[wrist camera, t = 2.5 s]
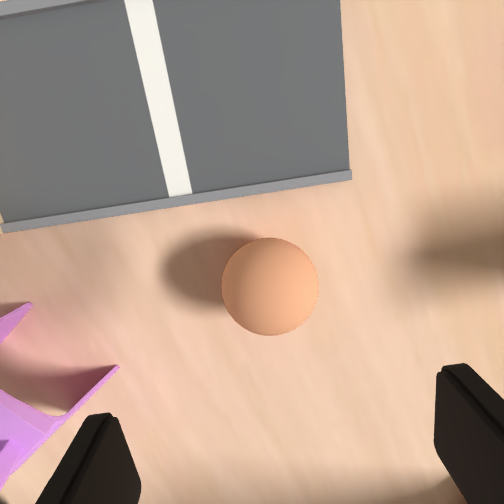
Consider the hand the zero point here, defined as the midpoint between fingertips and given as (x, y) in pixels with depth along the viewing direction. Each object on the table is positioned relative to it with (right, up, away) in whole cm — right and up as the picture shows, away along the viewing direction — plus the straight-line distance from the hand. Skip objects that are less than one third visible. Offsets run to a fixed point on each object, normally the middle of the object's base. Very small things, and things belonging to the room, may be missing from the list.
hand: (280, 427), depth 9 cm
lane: (-7, +14, +10) cm, 19 cm away
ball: (0, +4, +13) cm, 14 cm away
